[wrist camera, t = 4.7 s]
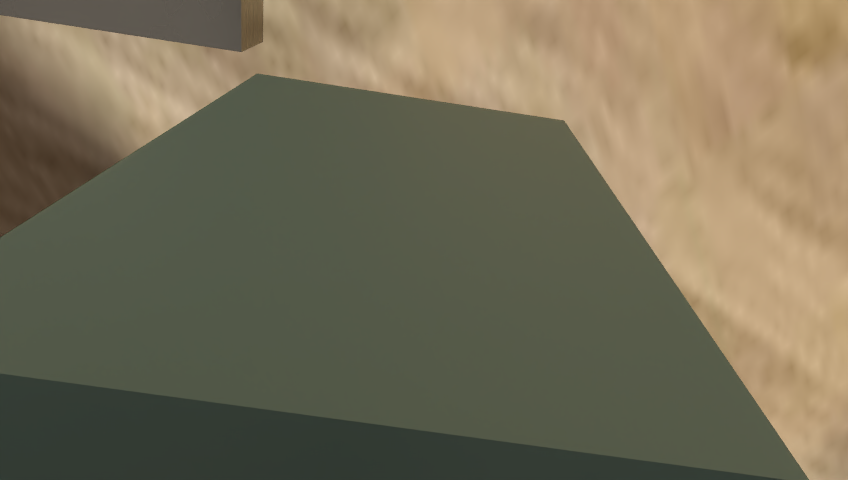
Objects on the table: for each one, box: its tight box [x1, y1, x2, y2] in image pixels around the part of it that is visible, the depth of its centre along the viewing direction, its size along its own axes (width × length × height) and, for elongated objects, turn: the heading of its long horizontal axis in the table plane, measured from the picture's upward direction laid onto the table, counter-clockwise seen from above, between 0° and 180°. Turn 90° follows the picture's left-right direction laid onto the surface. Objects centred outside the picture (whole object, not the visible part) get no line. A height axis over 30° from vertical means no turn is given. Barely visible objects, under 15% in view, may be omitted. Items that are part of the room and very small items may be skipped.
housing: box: [0, 74, 809, 480], centre depth 6 cm, size 6×5×9 cm
